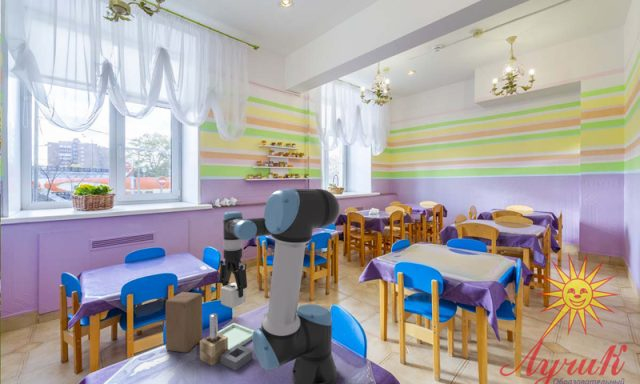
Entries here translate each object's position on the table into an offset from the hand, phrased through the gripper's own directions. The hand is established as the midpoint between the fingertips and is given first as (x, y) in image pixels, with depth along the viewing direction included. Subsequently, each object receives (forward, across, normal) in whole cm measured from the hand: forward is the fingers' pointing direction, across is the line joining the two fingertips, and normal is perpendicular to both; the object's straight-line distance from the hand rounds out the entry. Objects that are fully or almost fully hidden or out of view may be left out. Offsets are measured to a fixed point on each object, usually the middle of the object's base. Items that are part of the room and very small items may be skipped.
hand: (232, 302), depth 113 cm
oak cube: (+16, -4, +12) cm, 20 cm away
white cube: (0, 0, 0) cm, 0 cm away
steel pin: (+16, -4, +12) cm, 20 cm away
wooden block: (+16, +13, +14) cm, 25 cm away
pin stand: (+15, -13, +9) cm, 22 cm away
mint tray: (+16, 0, 0) cm, 16 cm away
